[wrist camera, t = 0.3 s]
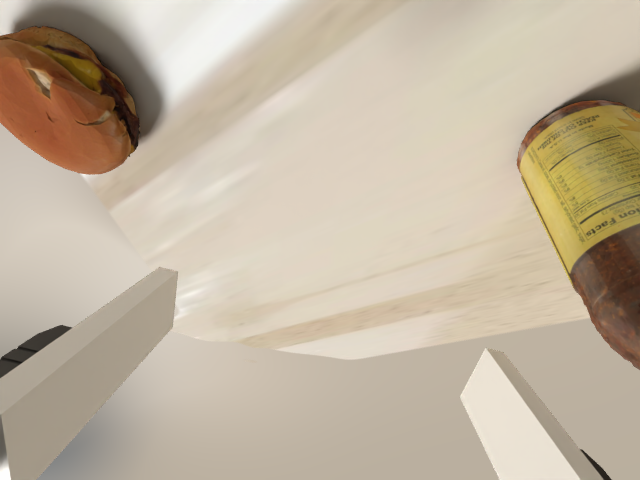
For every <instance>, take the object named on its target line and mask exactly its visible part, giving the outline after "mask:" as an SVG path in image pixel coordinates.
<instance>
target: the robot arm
mask: <svg viewBox="0 0 640 480" xmlns="http://www.w3.org/2000/svg"><path fill="white" fill-rule="evenodd" d="M177 277H178V271H174V270H170V269H166V268H162V267H159V268H158V269H156V270H155V271H153V272H152V273H150V274H149V275H148V276H146V277H145V278H143V279H142V280H140V281H139V282H137V283H136V284H135V285H133V286H132V287H130V288H129V289H128V290H126V291H125V292H123V293H122V294H120V295H119V296H117V297H116V298H115V299H113V300H112V301H110V302H109V303H108V304H106V305H105V306H103V307H102V308H100V309H99V310H98V311H96V312H95V313H93V314H92V315H90V316H89V317H88V318H86V319H85V320H83V321H82V322H81V323H79V324H77V325H76V326H74V327H73V328H71V327H67V326H63V325H60V326H57V327H54V328H52V329H49V330H47V331H44V332H42V333H39V334H37V335H35V336H34V337H32V338H31V339H29V340H27V341H26V342H25V343H23V344H21V345H20V346H19V347H18V348H17V349H14V350H12V351H10V352H9V353H7V354H6V355H4V356H2V358H1V359H0V480H36V479H37V478H38V477H39V476H40V475H41V474H42V473H43V471H44V470H45V469H46V468H47V467H48V466H49V465H50V464H51V462H52V461H53V460H54V459H55V458H56V457H57V456H58V455H59V454H60V453H61V451H62V450H63V449H64V448H65V447H66V446H67V445H68V443H70V441H71V440H72V439H73V438H74V437H75V436H76V435H77V434H78V432H79V431H80V430H81V429H82V428H83V427H84V426H85V424H87V422H88V421H89V420H90V419H91V418H92V417H93V415H94V414H95V413H96V412H97V411H98V410H99V409H100V408H101V407H102V406H103V404H104V403H105V402H106V401H107V400H108V399H109V398H110V397H111V396H112V394H113V393H114V392H115V391H116V390H117V389H118V388H119V387H120V385H121V384H122V383H123V382H124V381H125V380H126V379H127V377H129V375H130V374H131V373H132V372H133V371H134V370H135V369H136V368H137V366H138V365H139V364H140V363H141V362H142V361H143V360H144V359H145V357H146V356H147V355H148V354H149V353H150V352H151V351H152V350H153V349H154V347H155V346H156V345H157V344H158V343H159V342H160V341H161V340H162V339H163V337H164V336H165V335H166V334H167V333H168V332H169V331H170V330H171V328H172V327H173V319H174V308H175V298H176V288H177ZM460 398H461V400H462V402H463V404H464V407H465V409H466V411H467V413H468V415H469V417H470V419H471V421H472V423H473V425H474V427H475V430H476V431H477V434H478V436H479V438H480V440H481V442H482V444H483V446H484V448H485V450H486V452H487V455H488V456H489V459H490V461H491V463H492V465H493V467H494V469H495V471H496V473H497V475H498V478H499V480H611V479H610V477H609V476H608V475H607V474H606V472H605V471H604V470H603V469H602V468H601V467H600V466H599V465H598V464H597V463H596V462H595V461H594V460H593V459H592V458H591V457H589V456H588V455H587V454H586V453H585V452H584V451H583V450H581V449H579V448H578V446H577V445H576V444H575V443H574V441H573V440H572V439H571V437H570V436H569V435H568V434H567V432H566V431H565V430H564V429H563V427H562V426H561V425H560V424H559V422H558V421H557V420H556V418H555V417H554V416H553V415H552V413H551V412H550V411H549V410H548V408H547V407H546V406H545V404H544V403H543V402H542V401H541V399H540V398H539V397H538V396H537V395H536V393H535V392H534V391H533V389H532V388H531V387H530V385H529V384H528V383H527V382H526V380H525V379H524V378H523V377H522V375H521V374H520V373H519V372H518V370H517V369H516V368H515V367H514V365H513V364H512V363H511V361H510V360H509V359H508V358H507V356H506V355H505V354H504V353H503V352H500V351H496V350H492V349H488V348H486V349H485V350H484V353H483V354H482V356H481V358H480V360H479V362H478V364H477V366H476V367H475V369H474V371H473V373H472V375H471V377H470V379H469V381H468V383H467V385H466V387H465V388H464V390H463V392H462V394H461V396H460Z"/></svg>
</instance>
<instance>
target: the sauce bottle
mask: <svg viewBox="0 0 640 480" xmlns="http://www.w3.org/2000/svg"><path fill="white" fill-rule="evenodd" d="M517 166H518V169H519V171H520V173H521V175H522V176H521V179H522V182H523V184H524V186H525V188H526V191H527V193H528V195H529V197H530V199H531V201H532V203H533V205H534V207H535V209H536V212H537V214H538V216H539V218H540V220H541V222H542V224H543V226H544V228H545V230H546V232H547V234H548V236H549V238H550V240H551V242H552V244H553V246H554V249H555V251H556V253H557V255H558V257H559V259H560V262H561V264H562V266H563V268H564V270H565V272H566V274H567V276H568V278H569V280H570V282H571V284H572V286H573V288H574V289H575V291H576V292H577V293H578V294H579V295H580V296H581V297H582V300H583V302H584V305H586V307H587V310H588V312H589V315H590V318H591V321H592V323H593V324H594V325H595V327H596V329H597V331H598V332H599V333H600V334H601V336H602V337H603V339H604V340H605V341H606V342H607V343H608V344H609V345H610V347H611V348H612V349H613V350H615V351H616V352H617V353H618V354H620V355H621V356H622V357H623V358H624V359H626V360H628V361H630V362H631V363H632V364H633V366H634V367H636V368H638V369H639V370H640V113H639V112H638V111H636V110H634V109H631V108H628V107H627V106H625V105H624V104H622V103H620V102H610V101H605V100H596V101H581V102H577V103H573V104H570V105H568V106H566V107H563V108H561V109H559V110H557V111H555V112H553V113H551V114H550V115H549V116H547V117H546V118H544V119H542V120H540V121H539V123H537V124H536V125H535V126H534V127H532V128H531V129H530V130H529V131H528V132H527V134H526V136H525V138H524V140H523V141H522V143H521V147H520V149H519V152H518V159H517Z"/></svg>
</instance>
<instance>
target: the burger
mask: <svg viewBox="0 0 640 480" xmlns="http://www.w3.org/2000/svg"><path fill="white" fill-rule="evenodd" d="M0 123H1V124H2V125H3V126H5V127H6V128H7V129H8V130H9V131H10V132H11V133H12V134H13V135H14V136H15V137H16V138H18V139H19V140H20V141H21V142H22V143H24V144H25V145H26V146H28V147H29V148H31V149H32V150H33V151H35V152H36V153H37V154H39V155H41V156H42V157H43V158H45V159H46V160H48V161H50V162H52V163H54V164H56V165H58V166H61V167H63V168H65V169H68V170H71V171H74V172H77V173H82V174H89V175H90V174H102V173H106V172H109V171H111V170H113V169H115V168H116V167H118V166H120V165H121V164H123V163H124V161H125V160H126V159H127V157H128V156H129V157H130V154H131V153H133V152H134V151H135V150H136V148H137V146H138V139H139V133H140V132H139V129H138V128H139V127H140V126H139V118H138V117H137V115H136V113H135V105H134V101H133V98H132V96H131V95H130V94H129V93H128V92H127V90H126V89H125V87H124V84H123V83H122V81H121V80H120V78H119V77H118V76H117V75H116V74H114V73H112V72H110V70H108V69H107V68H105V67H104V66H102V65H101V62H100V61H98V59H97V57H96V55H95V53H94V52H93V51H92V50H91V49H90V47H89V46H88V45H87V44H85V43H84V42H82V41H81V40H79V39H78V38H76V37H74V36H72V35H70V34H68V33H66V32H63V31H60V30H57V29H54V28H49V27H46V26H42V27H41V28H38V27H36V26H35V27H30V28H27V29H23V30H21V31H19V32H18V33H11V34H7V35H2V36H0Z"/></svg>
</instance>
